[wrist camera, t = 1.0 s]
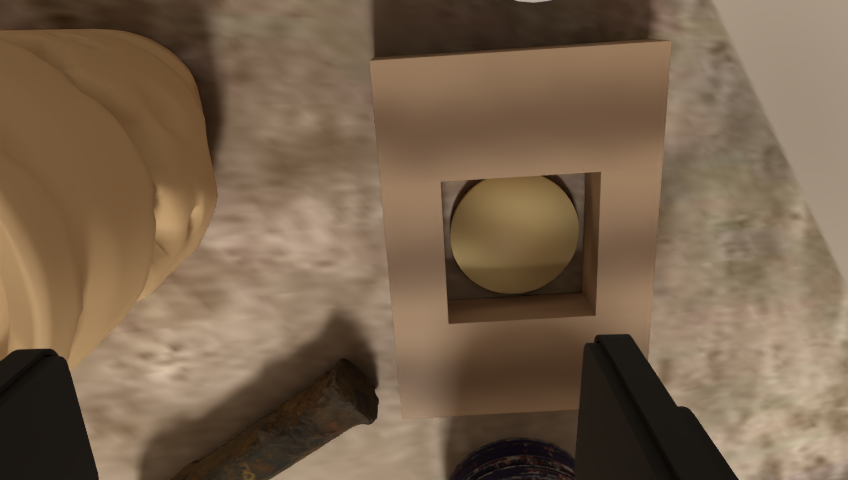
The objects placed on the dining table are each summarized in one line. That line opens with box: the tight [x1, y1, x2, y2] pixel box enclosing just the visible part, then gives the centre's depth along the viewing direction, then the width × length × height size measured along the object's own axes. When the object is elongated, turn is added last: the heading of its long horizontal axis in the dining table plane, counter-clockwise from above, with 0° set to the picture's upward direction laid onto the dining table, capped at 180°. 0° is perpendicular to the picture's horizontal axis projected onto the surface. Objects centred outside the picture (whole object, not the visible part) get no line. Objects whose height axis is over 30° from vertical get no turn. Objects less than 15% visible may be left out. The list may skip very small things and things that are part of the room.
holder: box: [369, 39, 671, 419], centre depth 32 cm, size 20×14×3 cm
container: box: [0, 29, 218, 371], centre depth 24 cm, size 13×13×18 cm
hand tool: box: [171, 359, 379, 480], centre depth 37 cm, size 19×4×5 cm, turn 124°
